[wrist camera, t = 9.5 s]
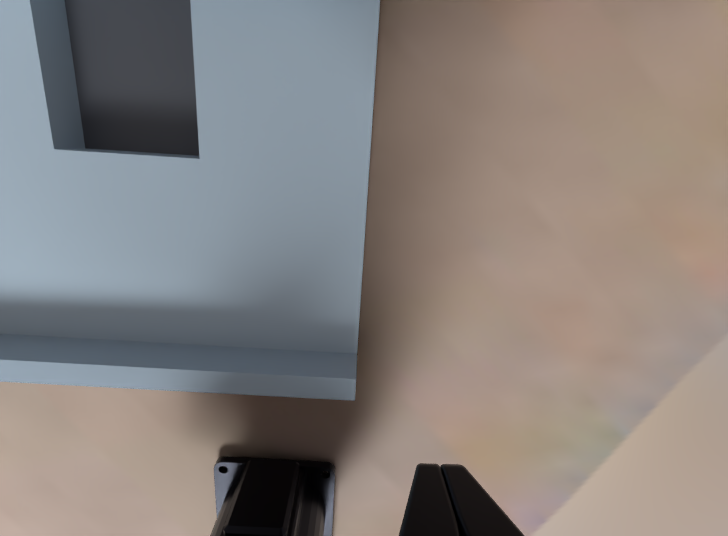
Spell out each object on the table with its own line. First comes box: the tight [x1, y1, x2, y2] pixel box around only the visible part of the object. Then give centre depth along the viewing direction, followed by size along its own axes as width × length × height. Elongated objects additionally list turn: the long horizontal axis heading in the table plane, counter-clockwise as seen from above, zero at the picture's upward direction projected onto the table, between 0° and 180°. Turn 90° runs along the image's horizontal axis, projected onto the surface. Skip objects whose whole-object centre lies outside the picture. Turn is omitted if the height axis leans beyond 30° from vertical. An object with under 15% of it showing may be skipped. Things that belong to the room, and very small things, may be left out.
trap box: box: [0, 0, 380, 401], centre depth 16 cm, size 16×26×4 cm, turn 86°
